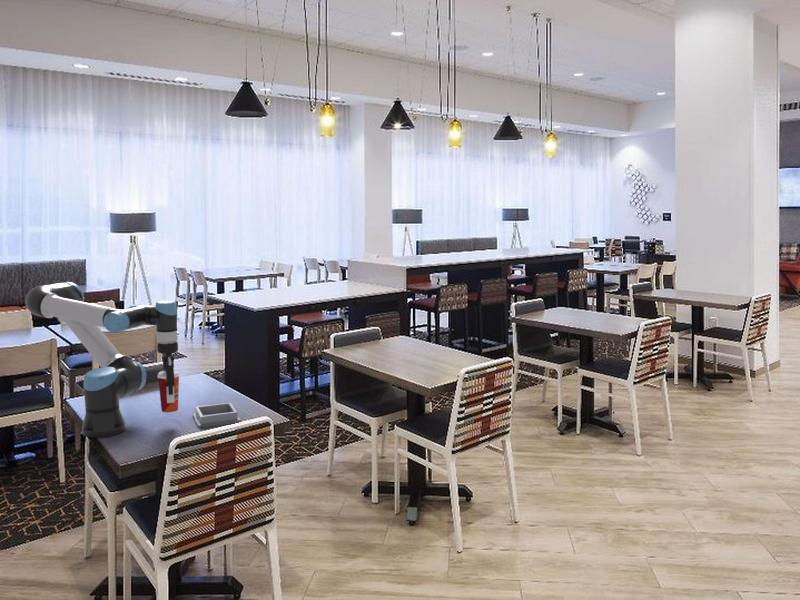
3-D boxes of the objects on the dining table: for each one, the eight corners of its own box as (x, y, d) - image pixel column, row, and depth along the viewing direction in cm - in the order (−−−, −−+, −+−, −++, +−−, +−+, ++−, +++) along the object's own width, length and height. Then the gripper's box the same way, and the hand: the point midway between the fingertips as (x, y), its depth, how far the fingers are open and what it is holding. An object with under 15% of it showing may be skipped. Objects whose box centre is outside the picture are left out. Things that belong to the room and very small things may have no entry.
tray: (198, 428, 257) (198, 417, 257) (192, 415, 272) (192, 406, 271) (240, 422, 264) (240, 412, 263) (232, 410, 278) (232, 401, 278)
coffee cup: (173, 414, 255) (172, 375, 253) (154, 412, 257) (152, 374, 255) (185, 407, 263) (184, 370, 261) (166, 406, 265) (164, 368, 263)
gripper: (181, 346, 248) (183, 405, 251) (174, 335, 267) (176, 391, 270) (159, 348, 245) (161, 408, 248) (154, 336, 264) (156, 393, 267)
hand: (169, 399), depth 259 cm, fingers closed on coffee cup, 8 cm apart
